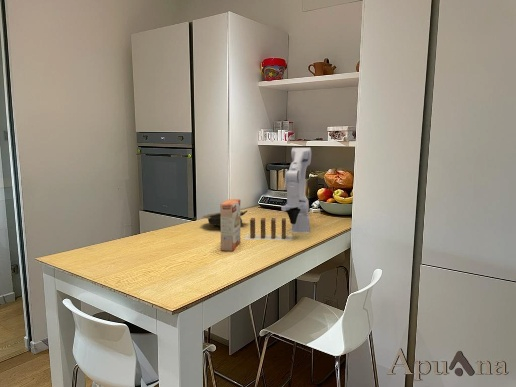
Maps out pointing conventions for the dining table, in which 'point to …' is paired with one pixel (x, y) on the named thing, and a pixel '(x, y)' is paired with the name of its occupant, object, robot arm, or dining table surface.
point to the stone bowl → (219, 218)
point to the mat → (268, 237)
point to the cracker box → (230, 224)
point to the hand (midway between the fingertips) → (293, 223)
